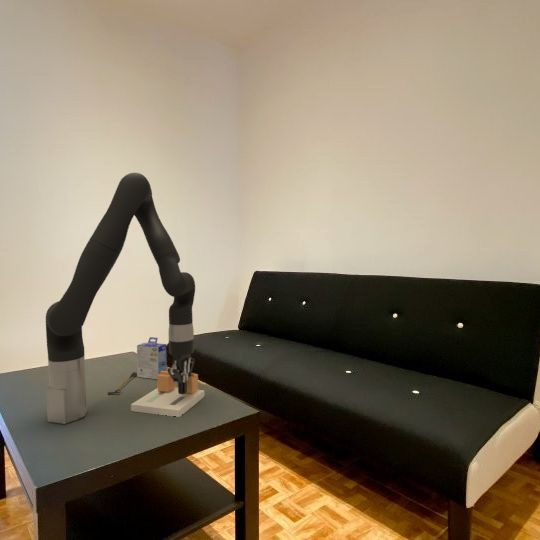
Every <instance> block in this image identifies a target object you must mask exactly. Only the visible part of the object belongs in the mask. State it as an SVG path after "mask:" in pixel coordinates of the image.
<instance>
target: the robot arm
mask: <svg viewBox="0 0 540 540" xmlns="http://www.w3.org/2000/svg"><path fill="white" fill-rule="evenodd" d="M134 216H135V219H136V220H137V222H138V224H139V226H140V227H141V230H142V232H143V235H144V237H145V240H146V242H147V245H148V248H149V249H150V252H151V254H152V256H153V258H154V261H155V263H156V264H157V267H158V273H159V276H160V277H159V278H160V281H161V284H162V287H163V289H164V291H165V292H166V293H167V294H168V295H169V296H171V297H173V302H172V303H171V305H170V306H169V309H168V354H169V355H171V356H172V366H171V368H168V369H167V371H168V373H169V375H170V376H171V378H172V380H173V381H174V382H175V383H177V388H178V393H179V394H185V393H186V392H187V380H188V377H190V376H191V373H193V368H194V365H195V363H196V361H195V360H196V359H195V358H192V354H193V353H194V351H195V343H194V342H195V339H194V338H195V337H194V336H195V334H194V333H195V331H194V323H193V307H194V306H193V305H194V301H195V293H196V281H195V279H194V277H193V275H191V273H188V272H183V271H182V272H181V269H180V266H179V263H180V262H181V258H180V254H179V253H178V251H177V248H176V246H175V244H174V242H173V240H172V238H171V236H170V234H169V233H168V230H167V229H166V227H165V226H164V225H163V222H162V221H161V219H160V217H159V214H158V212H157V210H156V206H155V202H154V198H153V191H152V186H151V184H150V182H149V179H148V178H147V177H146V176H145V175H143V174H142V173H140V172H130V173H128V174H125V175H124V176H123V177H122V178H121V179H120V181H119V182H118V184H117V187H116V190H115V192H114V193H113V197H112V200H111V201H110V204H109V206H108V208H107V210H106V212H105V213H104V215H103V216H102V218H101V220H100V221H99V223H98V224H97V226H96V228H95V230H94V232H93V233H92V235H91V236H90V238H89V240H88V242H87V243H86V245H85V247H84V248H83V250H82V252H81V255H80V257H79V258H78V262H77V264H76V267H75V269H74V270H75V271H74V272H73V278H72V280H71V281H70V284H69V286H68V288H67V289H66V291H65V292H64V294H63V295H62V297H61V298H60V299H59V301H56V302H54V303H52V304H51V305H50V306H49V308H47V311H46V313H45V332H46V333H45V334H46V335H45V337H46V351H47V365H48V367H47V368H48V387H46V392H45V393H46V415H47V416H46V417H47V422H50V423H55V424H56V423H57V424H62V425H65V424H68V423H71V422H74V421H75V422H76V421H78V420H81V419H82V418H84V417H86V415H87V409H88V408H87V388H86V386H87V385H86V364H85V363H86V358H85V356H86V355H85V344H84V340H83V339H84V338H83V326H84V325H85V321H86V319H87V317H88V314H89V311H90V309H91V307H92V304H93V301H94V299H95V297H96V296H97V294H98V292H99V290H100V289H101V287H102V285H103V284H104V282H105V281H106V279H107V277H108V276H109V274H110V272H111V271H112V269H113V267H114V265H115V264H116V262H117V260H118V258H119V257H120V255H121V252H122V250H123V249H124V245H125V243H126V240H127V235H128V231H129V228H130V226H131V222H132V220H133V219H134Z"/></svg>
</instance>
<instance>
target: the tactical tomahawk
mask: <svg viewBox="0 0 540 540" xmlns="http://www.w3.org/2000/svg"><path fill="white" fill-rule="evenodd" d="M136 376H137V371H134V372H132V373H131V374H130V377H128V378H127V379H125V380H124V381H123V383H121V384H120V385H119V386H118V387H117V388H116V389H115V390H114V391H108V392H107V395H108V396H110V395H111V396H121V395H122V390H123V388H124V387H126V386H127V385H128V384H129V383H130V382H131V381H132V380H133V379H134V378H135V377H136Z"/></svg>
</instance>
